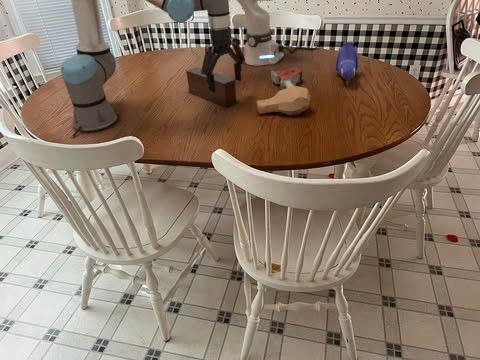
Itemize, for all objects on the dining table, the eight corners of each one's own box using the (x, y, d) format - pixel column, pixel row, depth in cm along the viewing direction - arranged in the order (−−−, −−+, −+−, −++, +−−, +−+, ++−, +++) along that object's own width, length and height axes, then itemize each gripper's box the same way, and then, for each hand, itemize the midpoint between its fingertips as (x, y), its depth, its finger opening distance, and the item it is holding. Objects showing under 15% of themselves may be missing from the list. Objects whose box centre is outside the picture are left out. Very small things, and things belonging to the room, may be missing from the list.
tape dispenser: (295, 102, 142) (315, 82, 154) (296, 90, 138) (316, 70, 151) (257, 92, 149) (279, 74, 162) (257, 81, 146) (279, 63, 158)
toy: (333, 78, 167) (335, 88, 145) (335, 40, 160) (337, 44, 138) (355, 78, 165) (360, 87, 142) (358, 39, 158) (364, 43, 136)
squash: (314, 116, 128) (313, 95, 122) (259, 125, 130) (256, 105, 124) (308, 99, 136) (307, 78, 129) (257, 108, 138) (253, 88, 131)
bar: (236, 102, 141) (235, 79, 136) (226, 107, 138) (224, 83, 133) (199, 88, 155) (196, 66, 150) (189, 92, 152) (186, 70, 147)
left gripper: (237, 19, 134) (241, 74, 146) (185, 34, 121) (194, 93, 133) (252, 21, 129) (255, 77, 142) (199, 37, 116) (207, 98, 129)
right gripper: (228, -43, 143) (230, -4, 151) (187, -37, 131) (192, 4, 140) (238, -42, 139) (240, -3, 147) (198, -36, 128) (202, 6, 136)
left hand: (225, 85), depth 138 cm, fingers open, 13 cm apart
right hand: (216, 1), depth 143 cm, fingers open, 8 cm apart
